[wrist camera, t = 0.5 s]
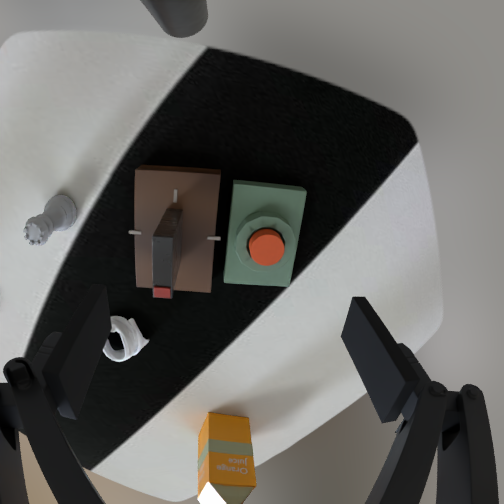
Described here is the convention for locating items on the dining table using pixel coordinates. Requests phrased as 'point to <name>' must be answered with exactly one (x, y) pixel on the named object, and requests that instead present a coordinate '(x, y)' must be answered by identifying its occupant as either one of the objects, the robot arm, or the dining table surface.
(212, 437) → the orange juice
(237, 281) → the button block
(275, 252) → the button
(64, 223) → the rook chess piece
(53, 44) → the dining table surface
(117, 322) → the white folded cloth ring
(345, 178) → the dining table surface
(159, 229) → the red-tipped grey box
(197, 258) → the panel
